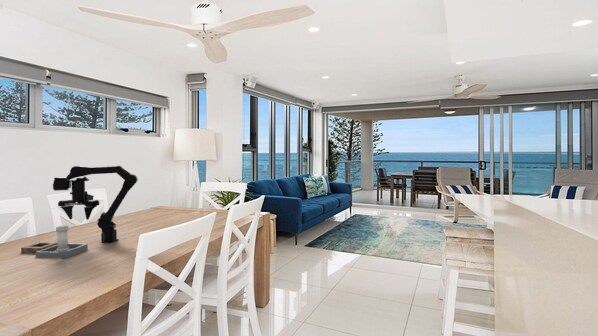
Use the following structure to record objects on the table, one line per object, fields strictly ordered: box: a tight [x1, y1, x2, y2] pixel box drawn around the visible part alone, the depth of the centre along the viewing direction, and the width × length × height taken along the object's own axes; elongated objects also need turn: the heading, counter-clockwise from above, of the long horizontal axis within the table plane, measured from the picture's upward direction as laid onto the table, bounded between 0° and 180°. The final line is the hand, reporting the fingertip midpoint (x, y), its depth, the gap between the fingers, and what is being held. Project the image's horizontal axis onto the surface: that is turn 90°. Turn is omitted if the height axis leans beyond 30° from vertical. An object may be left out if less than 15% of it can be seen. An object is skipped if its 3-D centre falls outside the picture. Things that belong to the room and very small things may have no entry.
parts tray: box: [35, 242, 88, 260], centre depth 151 cm, size 14×14×3 cm
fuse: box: [55, 225, 69, 252], centre depth 151 cm, size 5×5×12 cm
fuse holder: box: [20, 241, 57, 254], centre depth 155 cm, size 10×10×3 cm
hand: (79, 219), depth 167 cm, fingers open, 9 cm apart
